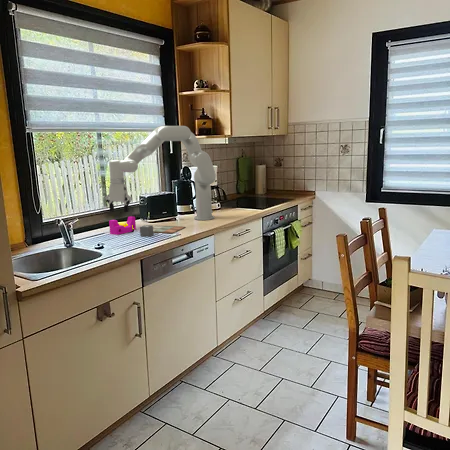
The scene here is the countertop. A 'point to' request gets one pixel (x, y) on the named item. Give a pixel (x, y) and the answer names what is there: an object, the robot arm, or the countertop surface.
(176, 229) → the striped panel
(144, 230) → the die
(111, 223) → the toy block
